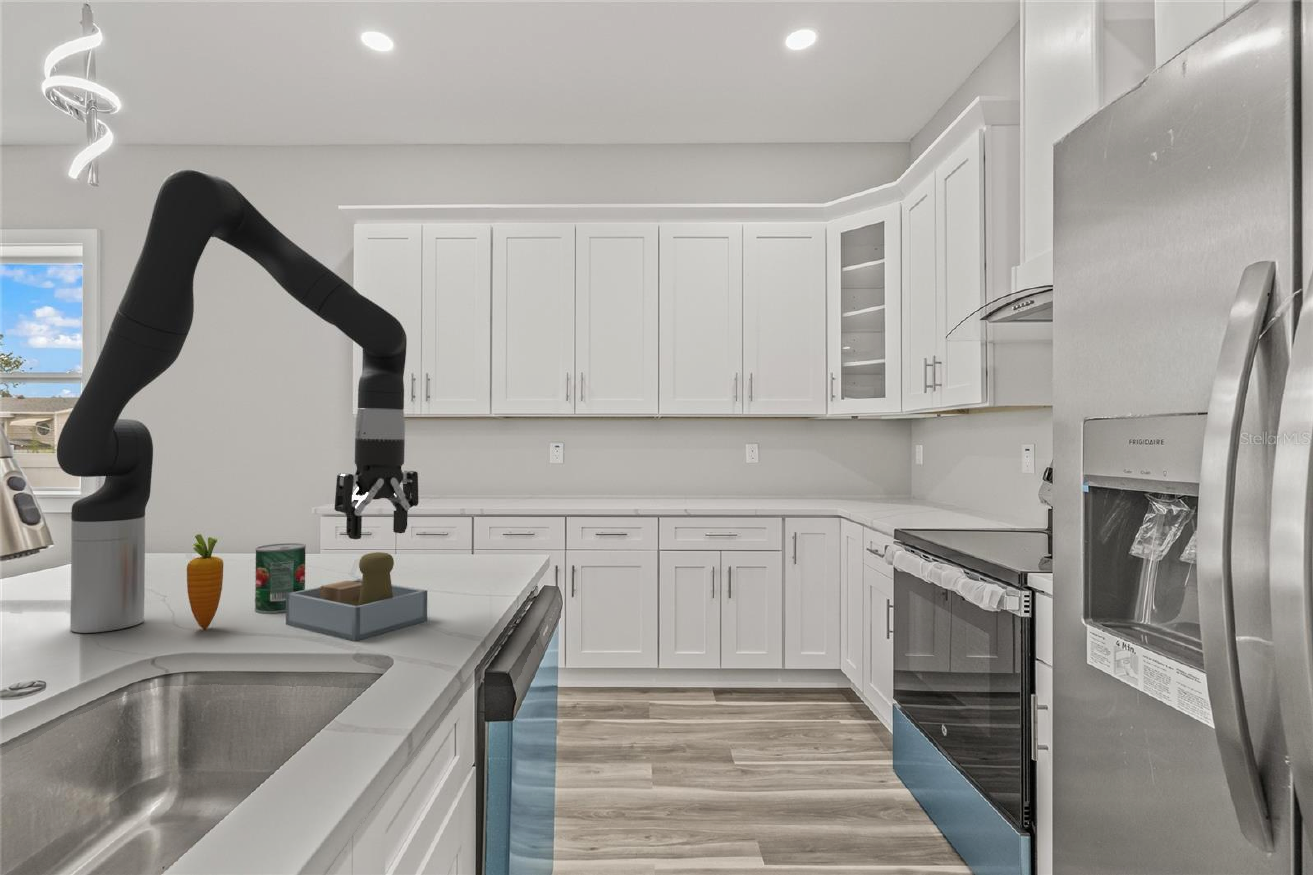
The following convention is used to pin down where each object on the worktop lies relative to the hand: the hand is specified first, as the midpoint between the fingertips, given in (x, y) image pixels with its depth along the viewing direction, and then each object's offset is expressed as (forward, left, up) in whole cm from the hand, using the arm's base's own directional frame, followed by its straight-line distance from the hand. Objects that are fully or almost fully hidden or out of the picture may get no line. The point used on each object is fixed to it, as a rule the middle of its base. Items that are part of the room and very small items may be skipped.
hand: (377, 535), depth 110 cm
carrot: (-21, -16, -15) cm, 30 cm away
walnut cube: (-7, -1, -14) cm, 15 cm away
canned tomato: (-24, -2, -15) cm, 28 cm away
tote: (-4, -1, -15) cm, 15 cm away
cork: (+1, -1, -14) cm, 14 cm away
